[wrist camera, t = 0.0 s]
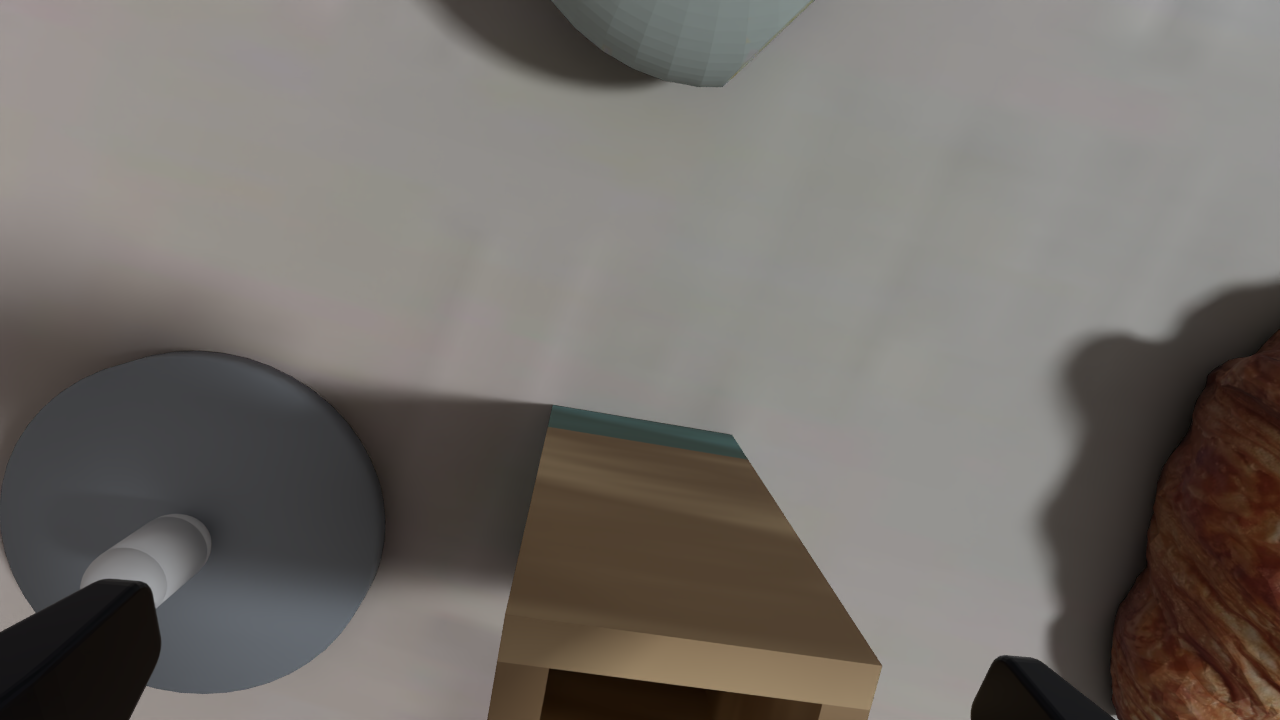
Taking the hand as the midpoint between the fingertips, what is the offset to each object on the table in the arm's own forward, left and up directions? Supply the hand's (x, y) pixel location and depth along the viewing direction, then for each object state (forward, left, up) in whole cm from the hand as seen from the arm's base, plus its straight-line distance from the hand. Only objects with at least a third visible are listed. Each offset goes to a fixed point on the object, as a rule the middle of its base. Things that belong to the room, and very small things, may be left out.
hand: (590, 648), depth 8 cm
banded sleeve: (-2, -4, -15) cm, 16 cm away
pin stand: (-12, +5, -15) cm, 20 cm away
